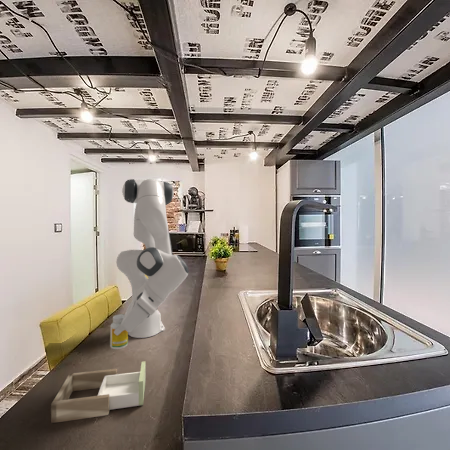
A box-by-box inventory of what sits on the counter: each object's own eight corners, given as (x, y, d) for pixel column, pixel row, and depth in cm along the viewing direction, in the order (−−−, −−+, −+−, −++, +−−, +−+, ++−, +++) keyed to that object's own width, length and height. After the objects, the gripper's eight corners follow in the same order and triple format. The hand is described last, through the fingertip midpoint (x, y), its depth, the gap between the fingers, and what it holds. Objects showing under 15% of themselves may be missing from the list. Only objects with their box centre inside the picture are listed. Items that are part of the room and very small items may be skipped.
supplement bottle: (107, 345, 85) (107, 316, 85) (123, 340, 89) (123, 312, 89) (114, 351, 82) (115, 320, 81) (131, 345, 85) (131, 316, 85)
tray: (104, 387, 84) (104, 365, 84) (145, 382, 87) (145, 361, 86) (96, 411, 73) (96, 386, 73) (142, 404, 76) (143, 381, 76)
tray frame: (69, 389, 83) (69, 373, 83) (117, 383, 86) (117, 368, 86) (51, 423, 69) (51, 404, 69) (108, 414, 73) (108, 397, 72)
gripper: (144, 283, 97) (115, 311, 95) (139, 299, 77) (103, 335, 75) (156, 295, 98) (128, 323, 96) (155, 313, 78) (119, 349, 76)
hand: (117, 328), depth 85 cm, fingers closed on supplement bottle, 5 cm apart
